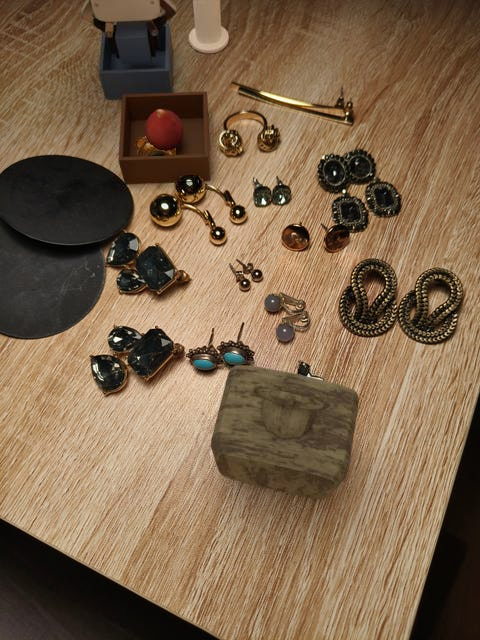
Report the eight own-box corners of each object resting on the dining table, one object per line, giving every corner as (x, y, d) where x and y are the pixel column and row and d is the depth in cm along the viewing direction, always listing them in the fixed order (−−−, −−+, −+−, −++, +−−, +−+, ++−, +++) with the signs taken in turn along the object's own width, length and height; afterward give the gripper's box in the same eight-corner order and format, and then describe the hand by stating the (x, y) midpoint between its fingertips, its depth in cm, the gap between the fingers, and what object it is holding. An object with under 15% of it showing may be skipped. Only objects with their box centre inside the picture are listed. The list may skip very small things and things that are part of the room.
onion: (169, 128, 96) (163, 89, 89) (193, 148, 94) (188, 109, 87) (141, 146, 95) (133, 108, 88) (164, 167, 93) (158, 130, 86)
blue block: (121, 64, 98) (115, 38, 93) (122, 43, 100) (116, 16, 95) (151, 63, 98) (147, 36, 93) (152, 41, 100) (147, 15, 95)
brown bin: (124, 184, 92) (118, 160, 87) (128, 120, 98) (122, 94, 93) (210, 181, 92) (208, 156, 87) (208, 117, 98) (206, 91, 93)
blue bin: (105, 99, 100) (98, 73, 95) (109, 53, 105) (102, 25, 100) (172, 97, 100) (168, 70, 95) (172, 50, 105) (169, 23, 100)
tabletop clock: (341, 437, 74) (383, 361, 52) (330, 510, 71) (369, 463, 48) (229, 412, 76) (222, 328, 53) (211, 482, 72) (196, 424, 50)
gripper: (176, -78, 84) (188, 34, 100) (54, -74, 84) (86, 38, 100) (176, -45, 80) (188, 66, 97) (49, -40, 80) (83, 70, 97)
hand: (136, 51), depth 98 cm, fingers closed on blue block, 5 cm apart
